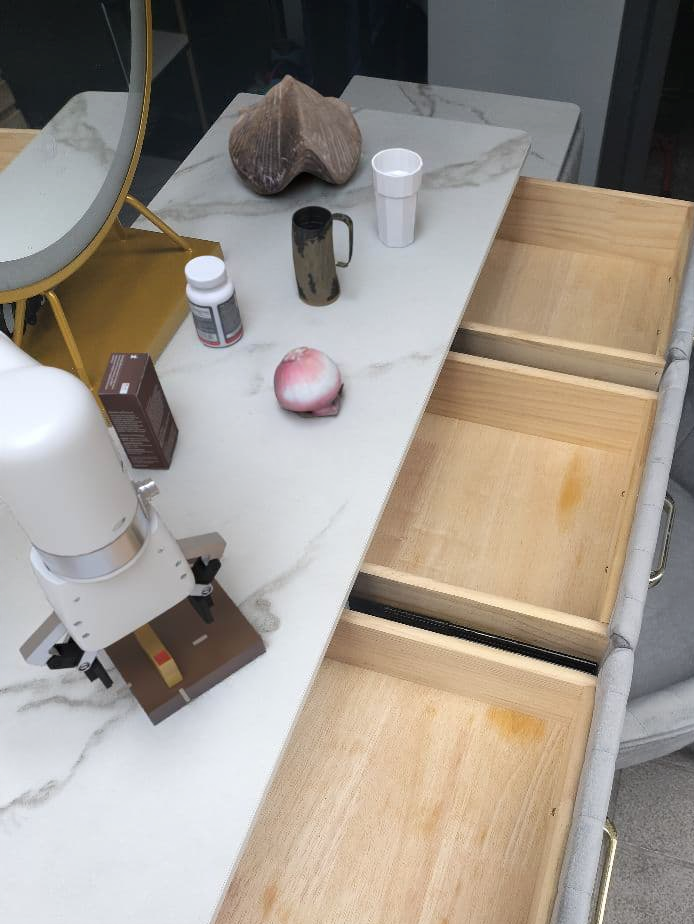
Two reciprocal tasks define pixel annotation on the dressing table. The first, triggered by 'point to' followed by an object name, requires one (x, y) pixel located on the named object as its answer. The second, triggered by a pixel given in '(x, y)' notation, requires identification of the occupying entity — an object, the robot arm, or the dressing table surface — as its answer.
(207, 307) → the pill bottle
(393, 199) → the cup
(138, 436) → the box
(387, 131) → the dressing table surface
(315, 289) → the mug
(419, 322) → the dressing table surface
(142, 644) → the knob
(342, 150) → the seashell
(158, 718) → the panel
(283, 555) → the dressing table surface
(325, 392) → the onion
